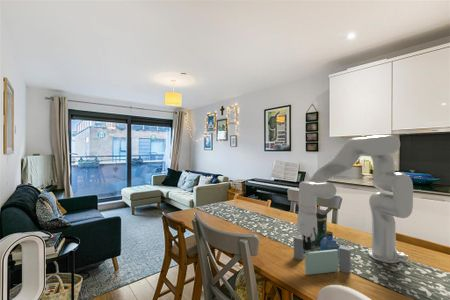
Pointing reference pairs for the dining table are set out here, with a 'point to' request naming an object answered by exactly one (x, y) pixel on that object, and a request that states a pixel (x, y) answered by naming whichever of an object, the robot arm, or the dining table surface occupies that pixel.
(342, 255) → the door frame
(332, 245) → the perfume bottle
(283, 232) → the dining table surface
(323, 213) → the coffee jar
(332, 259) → the door
